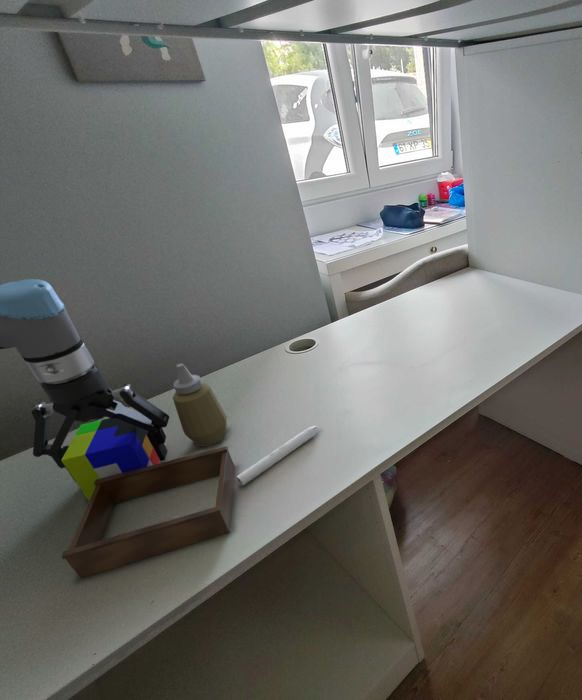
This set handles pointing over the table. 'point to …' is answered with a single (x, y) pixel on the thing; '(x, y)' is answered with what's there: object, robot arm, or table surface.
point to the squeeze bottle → (198, 409)
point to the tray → (136, 545)
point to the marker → (276, 455)
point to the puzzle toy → (107, 452)
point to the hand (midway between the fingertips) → (123, 466)
